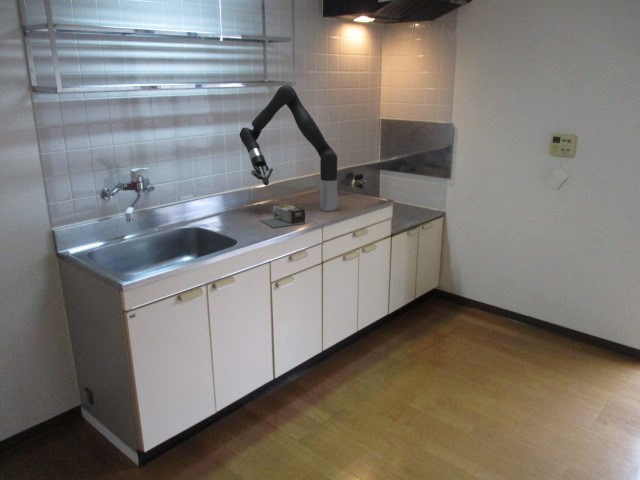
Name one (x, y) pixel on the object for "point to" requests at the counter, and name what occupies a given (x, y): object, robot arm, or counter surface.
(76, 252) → the counter surface
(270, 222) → the rubber mat
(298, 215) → the coffee box
